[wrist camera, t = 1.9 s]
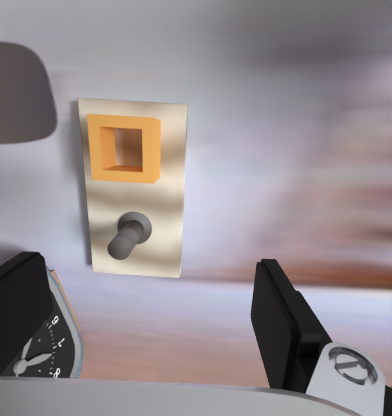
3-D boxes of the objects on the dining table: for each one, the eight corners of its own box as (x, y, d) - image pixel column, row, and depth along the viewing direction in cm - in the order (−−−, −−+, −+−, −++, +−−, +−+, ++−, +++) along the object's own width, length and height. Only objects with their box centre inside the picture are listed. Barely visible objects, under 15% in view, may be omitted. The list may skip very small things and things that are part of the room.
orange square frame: (104, 117, 26) (86, 113, 22) (160, 120, 26) (153, 117, 22) (107, 173, 28) (92, 179, 24) (160, 177, 28) (153, 183, 24)
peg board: (86, 100, 27) (40, 86, 19) (187, 106, 27) (181, 94, 19) (99, 264, 34) (69, 301, 26) (180, 269, 34) (174, 308, 26)
